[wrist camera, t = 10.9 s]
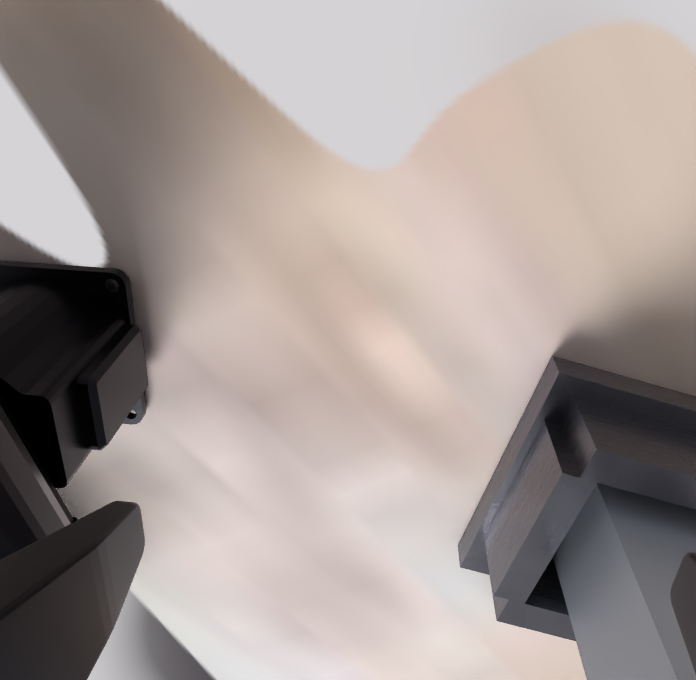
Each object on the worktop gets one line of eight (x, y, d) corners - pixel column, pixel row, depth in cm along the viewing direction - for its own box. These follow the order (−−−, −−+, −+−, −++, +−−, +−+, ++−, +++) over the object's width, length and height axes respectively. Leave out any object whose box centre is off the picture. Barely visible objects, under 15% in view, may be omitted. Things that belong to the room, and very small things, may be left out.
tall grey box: (545, 531, 25) (635, 853, 16) (587, 460, 24) (715, 772, 14) (638, 556, 26) (783, 888, 16) (686, 486, 24) (881, 813, 14)
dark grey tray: (458, 545, 28) (468, 642, 24) (552, 356, 23) (585, 433, 19) (649, 596, 28) (692, 699, 24) (778, 420, 24) (860, 510, 19)
